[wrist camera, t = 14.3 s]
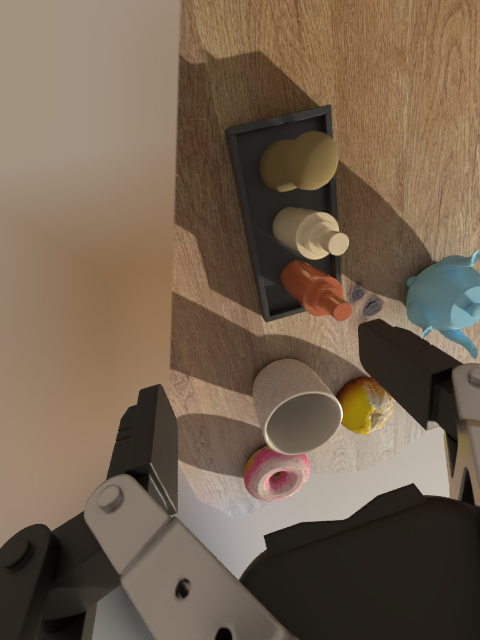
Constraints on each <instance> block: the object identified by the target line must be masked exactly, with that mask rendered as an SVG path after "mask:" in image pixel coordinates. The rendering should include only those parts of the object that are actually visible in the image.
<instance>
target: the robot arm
mask: <svg viewBox="0 0 480 640" xmlns="http://www.w3.org/2000/svg"><path fill="white" fill-rule="evenodd" d="M358 338H359V357H360V361H361V364H362V366H363V368H364V369H365V371H366V372H367V373H368V374H369V375H370V376H371V377H372V378H373V379H374V380H375V381H376V382H377V383H378V384H379V385H380V386H382V387H383V388H384V389H385V390H386V391H387V392H388V393H389V394H390V395H391V396H392V397H393V398H394V399H395V400H396V401H397V402H398V403H399V404H400V405H401V406H402V407H403V408H404V409H405V410H406V411H407V412H408V413H409V414H410V415H411V416H412V417H413V418H414V419H415V420H416V421H417V422H418V423H419V424H420V425H421V426H422V427H423V428H424V429H425V430H426V431H427V430H430V429H433V428H436V427H438V426H440V427H441V428H442V429H443V430H444V445H445V453H446V461H447V469H448V478H449V488H450V498H447V497H441V496H431V495H422V493H421V492H420V491H419V489H418V488H417V487H416V486H415V485H414V484H413V483H412V484H410V485H407V486H404V487H401V488H398V489H396V490H393V491H390V492H387V493H384V494H381V495H378V496H377V497H375V498H374V499H373V500H372V501H370V502H369V503H367V504H366V505H365V506H363V507H362V508H361V509H360V510H358V511H357V512H356V513H354V514H353V515H352V516H350V517H349V518H347V519H345V520H336V521H317V522H301V523H298V524H295V525H292V526H290V527H287V528H284V529H281V530H278V531H275V532H272V533H270V534H267V535H264V539H265V543H266V547H267V549H266V550H265V551H264V552H262V553H261V554H260V555H259V556H258V557H256V558H255V559H254V560H253V561H252V563H251V564H250V565H249V566H248V567H247V569H246V570H245V571H244V573H243V574H242V576H241V578H240V579H239V580H238V579H237V578H236V577H235V576H234V575H233V574H232V573H231V572H230V571H229V570H228V569H227V568H226V567H225V566H224V565H223V564H222V563H221V562H220V561H219V560H218V559H217V558H216V557H215V556H214V555H213V554H212V553H211V552H210V551H209V550H208V549H207V548H206V547H205V545H204V544H203V543H201V542H200V540H199V539H197V537H196V536H195V535H194V534H193V533H192V532H191V531H190V530H189V529H188V528H187V527H186V526H185V525H184V524H183V523H182V522H181V521H180V520H179V519H178V518H177V517H175V516H174V517H173V518H172V517H170V515H173V514H176V513H177V512H178V494H177V492H178V489H177V488H178V485H177V484H178V427H177V421H176V417H175V414H174V412H173V409H172V407H171V405H170V402H169V400H168V398H167V396H166V393H165V391H164V389H163V387H162V385H161V384H158V385H154V386H151V387H147V388H144V389H141V390H140V391H139V397H138V402H137V405H134V406H131V407H129V408H128V409H127V411H126V413H125V414H124V415H123V417H122V418H121V421H120V425H119V430H118V431H119V433H118V434H117V438H116V443H115V446H114V450H113V454H112V458H111V462H110V467H109V470H108V474H107V479H106V481H104V482H103V483H102V484H101V485H100V486H98V487H97V488H96V490H95V491H94V492H93V493H92V494H91V496H90V497H89V499H88V501H87V503H86V505H85V509H84V511H83V512H82V513H80V514H78V515H77V516H75V517H74V518H72V519H71V520H69V521H67V522H66V523H64V524H63V525H61V526H60V527H58V528H56V529H55V530H53V531H51V530H50V529H49V528H48V527H47V526H46V525H43V524H34V525H31V526H29V527H26V528H24V529H23V530H21V531H19V532H18V533H16V534H15V535H14V536H13V537H11V538H10V539H9V540H8V541H7V542H6V543H5V544H4V545H3V546H2V547H1V548H0V640H92V634H93V628H94V622H95V614H96V608H97V602H98V601H99V600H100V599H102V598H103V597H104V596H106V595H107V594H108V593H110V592H111V591H113V590H114V589H115V588H116V587H118V586H119V585H120V584H122V585H123V587H124V589H125V590H126V592H127V593H128V595H129V597H130V599H131V600H132V602H133V603H134V605H135V607H136V608H137V610H138V612H139V613H140V615H141V617H142V618H143V620H144V622H145V623H146V625H147V627H148V628H149V630H150V631H151V633H152V635H153V636H154V638H155V640H480V364H477V363H469V364H462V363H461V362H459V361H458V360H456V359H454V358H453V357H451V356H450V355H448V354H446V353H445V352H443V351H442V350H440V349H438V348H437V347H435V346H434V345H430V343H429V342H427V341H426V340H424V339H421V337H419V336H418V335H416V334H414V333H413V332H411V331H409V330H406V329H403V328H399V327H396V326H395V327H392V326H391V325H389V324H387V323H386V322H384V321H383V320H381V319H375V320H372V321H368V322H365V323H362V324H360V325H359V327H358Z"/></svg>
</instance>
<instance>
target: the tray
mask: <svg viewBox="0 0 480 640" xmlns="http://www.w3.org/2000/svg"><path fill="white" fill-rule="evenodd" d="M311 131H318V132H323V133H325V134H327V135H328V136H330V137H331V138H332V140H333V132H332V115H331V105H326V106H322V107H317V108H313V109H308V110H304V111H300V112H295V113H291V114H286V115H282V116H278V117H273V118H269V119H264V120H260V121H256V122H251V123H247V124H242V125H238V126H234V127H229V128H227V129H226V131H225V134H226V139H227V144H228V149H229V154H230V159H231V164H232V169H233V174H234V179H235V184H236V189H237V194H238V199H239V204H240V209H241V214H242V219H243V224H244V229H245V234H246V239H247V244H248V249H249V254H250V259H251V264H252V269H253V274H254V279H255V284H256V289H257V294H258V299H259V304H260V309H261V314H262V317H263V319H264V320H265V322H269V321H273V320H276V319H280V318H283V317H287V316H290V315H294V314H297V313H301V312H304V311H306V310H305V309H304V308H303V307H302V306H301V305H300V304H299V303H298V302H297V301H296V300H295V299H294V298H293V297H292V296H291V295H290V294H289V293H288V292H287V291H286V290H285V289H284V288H283V286H282V284H281V273H282V271H283V269H284V267H285V266H286V265H287V264H289V263H290V262H292V261H294V260H304V261H307V262H308V263H310V264H312V265H313V266H315V267H317V268H318V269H320V270H322V271H323V272H325V273H327V274H328V275H330V276H332V277H333V278H335V279H336V280H338V281H339V283H340V284H341V267H340V255H332V254H330V253H329V254H328V255H327V256H325V257H323V258H320V259H308V258H306V257H304V256H302V255H301V254H299V253H297V252H295V251H293V250H292V249H290V248H288V247H286V246H285V245H283V244H281V243H280V242H278V241H277V239H276V238H275V236H274V234H273V222H274V219H275V217H276V215H277V214H278V213H279V212H280V211H281V210H282V209H284V208H287V207H299V208H304V209H309V210H315V211H320V212H325V213H328V214H330V215H331V216H333V217H334V218H335V220H336V222H337V224H338V216H337V199H336V182H335V173H334V175H333V177H332V178H331V179H330V181H329V182H328V183H327V184H325V185H324V186H322V187H320V188H319V189H315V190H304V189H300V188H295V189H293V190H290V191H287V192H282V193H281V192H275V191H273V190H271V189H269V188H268V187H267V186H266V185H265V184H264V182H263V180H262V178H261V176H260V169H259V166H260V159H261V157H262V154H263V152H264V151H265V149H266V148H267V147H268V146H269V145H270V144H272V143H273V142H275V141H278V140H282V139H285V140H296V138H298V137H299V136H301V135H303V134H304V133H306V132H311ZM341 286H342V284H341Z"/></svg>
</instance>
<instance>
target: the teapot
mask: <svg viewBox="0 0 480 640" xmlns="http://www.w3.org/2000/svg"><path fill="white" fill-rule="evenodd" d="M478 257H479V251H476V252H474V253H473V255H472V256H471V257H462V256H458V255H452V256H448V257H445V258H443V259H442V260H440V261H439V262H437V263H435V264H433V265H431V266H429V267H428V268H426V269H425V270H423V271H422V272H421V273H420V274H419V275H418V276H417V277H416V276H412V277H410V278H409V279H408V281H407V286H408V287H409V290H408V293H407V300H406V305H407V316H408V318H409V320H410V321H411V322H412V323H413V324H415V325H417V326H419V327H421V328H422V329H423V333H422V337H425V336H426V335H428V334H429V332H430V331H431V329H434V330H439V331H440V333H441V334H442V335H443V336H444V337H446V338H448V339H449V340H451V341H454V342H456V343H458V344H460V345H462V346H463V347H465V348H466V349H467V350H468V352H469V353H470V355H471V356H472V357H473V358H474V359H475V358H477V349H476V347H475V345H474V344H473V343H472V341H471V340H470V339H469V338H467V337H466V336H465V335H464V334H463V333H462V331H461V330H460V329H462V328H466V327H469V326H471V325H473V324H475V323H476V322H478V321H479V320H480V274H479V273H478V272H477V271H476V270H475V269H474V268H472V267H471V266H472V265H474V264H475V263H476V262H477V260H478Z"/></svg>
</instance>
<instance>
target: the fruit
mask: <svg viewBox="0 0 480 640" xmlns="http://www.w3.org/2000/svg"><path fill="white" fill-rule="evenodd" d="M336 398H337V400H338V401H339V403H340V405H341V407H342V421H341V423H342V424H343V426H345V427H346V428H347V429H349V430H351V431H353V432H355V433H358V434H363V435H368V434H369V432H372V431H374V430H375V429H379V428H382V427H383V426H384V425H385V422H386V419H388V418H390V417H391V414H392V412H393V403H394V402H393V398H392V396H391V395H390V394H389V393H388V392H387V391H386V390H385V389H384V388H383V387H382V386H380V385H379V384H378V383H377V382H376V381H375V380H374V379H373V378H372V377H370V378H367V377H365V378H362V377H359V378H357V379H355V380H352V381H350V382H348V383H347V384H346V385H345V386H344V387H343V388H342V389H341V390H340V392H339V393H338V395H337V396H336Z"/></svg>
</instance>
